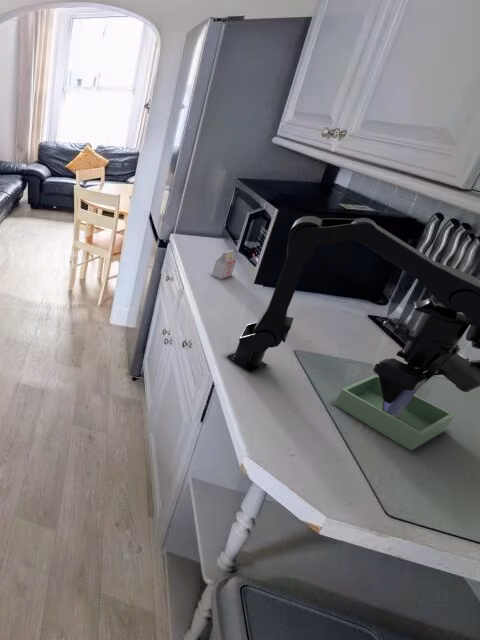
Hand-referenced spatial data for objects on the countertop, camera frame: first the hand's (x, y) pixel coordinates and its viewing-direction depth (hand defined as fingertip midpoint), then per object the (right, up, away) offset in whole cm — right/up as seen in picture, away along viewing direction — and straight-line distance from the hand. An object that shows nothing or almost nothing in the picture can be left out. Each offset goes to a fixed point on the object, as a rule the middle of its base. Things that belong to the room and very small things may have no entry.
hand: (398, 396), depth 84 cm
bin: (0, -5, +2) cm, 6 cm away
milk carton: (+4, +22, +65) cm, 69 cm away
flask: (0, -3, +1) cm, 3 cm away
